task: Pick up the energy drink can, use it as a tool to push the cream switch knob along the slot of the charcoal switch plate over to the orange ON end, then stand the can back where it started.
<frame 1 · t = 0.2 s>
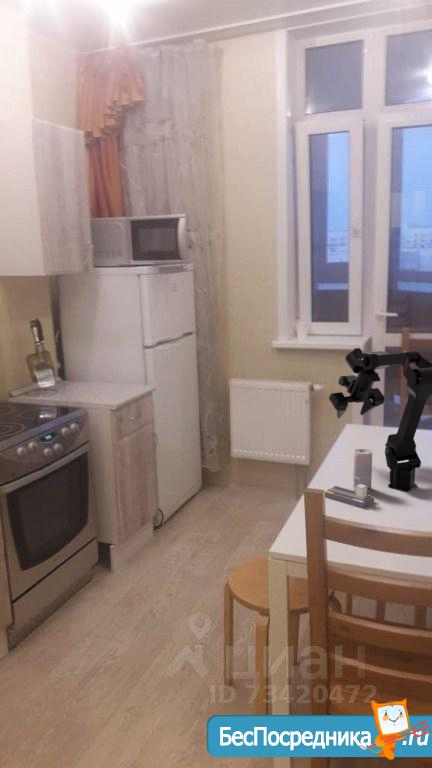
hand: (349, 415, 211), 15 cm above the table, tool tilted 30°, fingers open, 9 cm apart
switch knob: (361, 491, 174), point 3 cm above the table, slide at 0.0 cm
switch plate: (348, 499, 177), on the table
energy drink: (362, 490, 184), on the table
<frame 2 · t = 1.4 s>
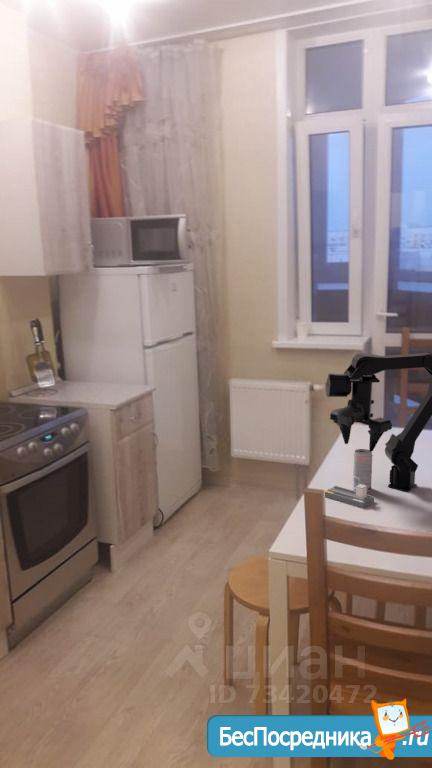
hand: (358, 447, 183), 13 cm above the table, tool pointing down, fingers open, 9 cm apart
nothing on the table moved.
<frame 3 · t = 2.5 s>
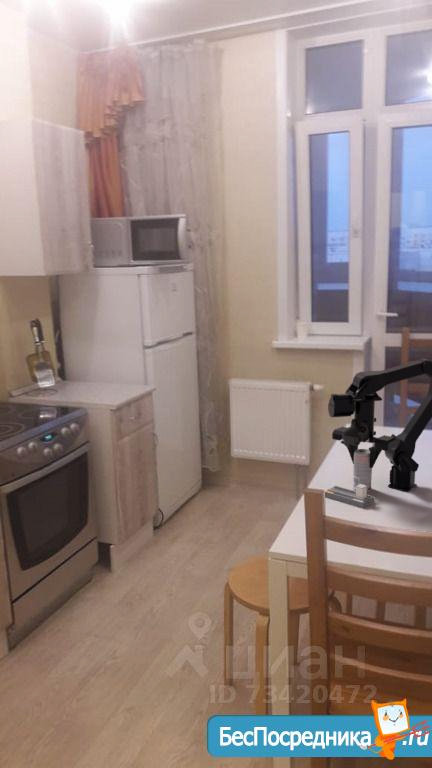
hand: (362, 465, 183), 8 cm above the table, tool pointing down, fingers closed on energy drink, 5 cm apart
energy drink: (362, 490, 184), on the table, touching gripper
everything else where it was.
when the fingers open (9 cm above the table, at t = 11.4 s): energy drink stays where it is, on the table.
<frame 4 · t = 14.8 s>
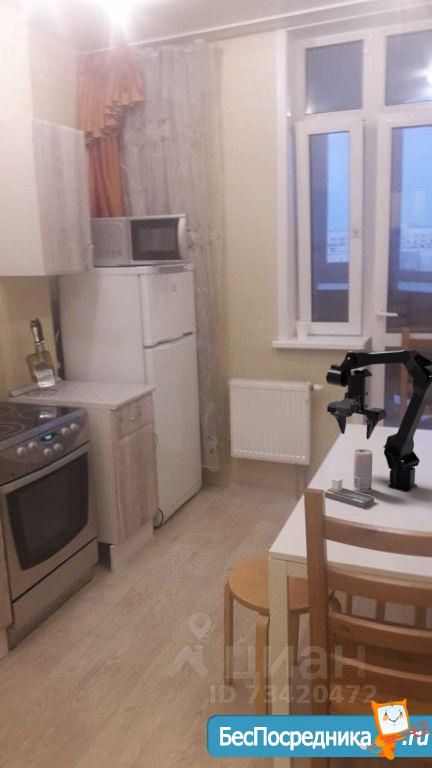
hand: (355, 436, 197), 12 cm above the table, tool pointing down, fingers open, 9 cm apart
switch knob: (337, 484, 179), point 3 cm above the table, slide at 8.0 cm
energy drink: (362, 490, 184), on the table
at the end: switch knob slide at 8.0 cm; energy drink tilted 0°; energy drink inside the target area (0.1 cm from its centre), on the table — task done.
